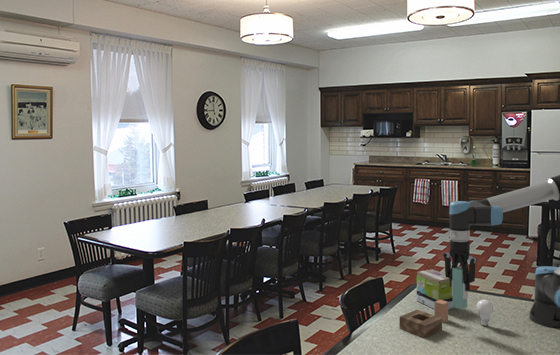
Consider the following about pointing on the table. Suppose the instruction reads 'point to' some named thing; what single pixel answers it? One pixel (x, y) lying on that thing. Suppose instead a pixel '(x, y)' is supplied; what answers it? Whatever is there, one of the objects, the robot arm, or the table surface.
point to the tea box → (433, 288)
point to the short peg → (441, 309)
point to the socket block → (420, 323)
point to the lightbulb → (484, 310)
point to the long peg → (458, 288)
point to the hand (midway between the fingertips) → (459, 296)
